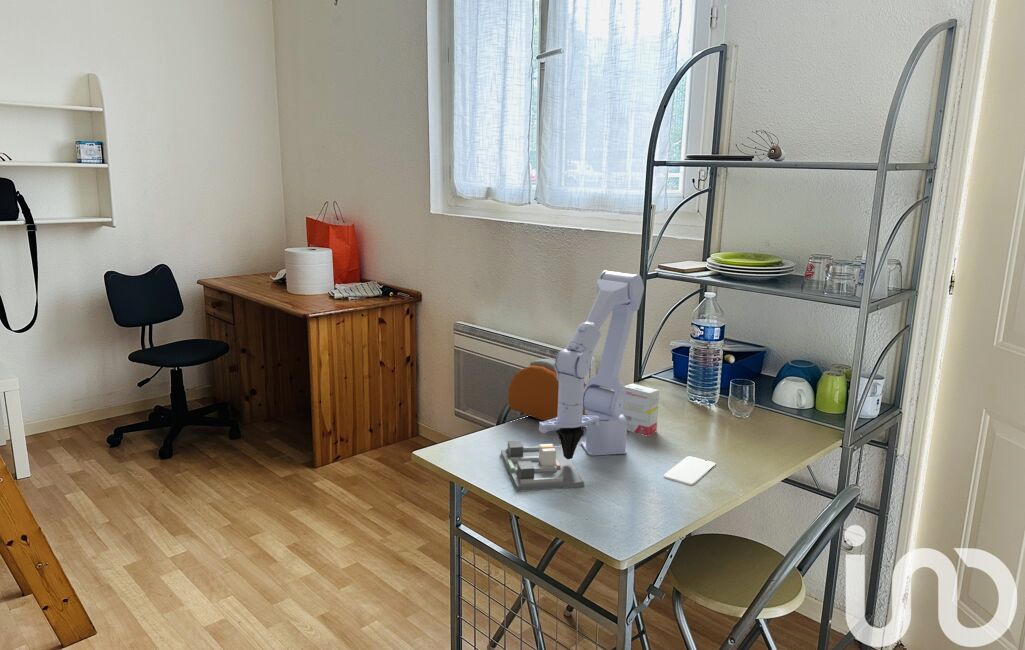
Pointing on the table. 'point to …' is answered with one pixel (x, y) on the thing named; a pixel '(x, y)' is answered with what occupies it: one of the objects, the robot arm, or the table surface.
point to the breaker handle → (547, 455)
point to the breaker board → (538, 469)
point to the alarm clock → (536, 390)
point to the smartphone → (689, 470)
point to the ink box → (641, 409)
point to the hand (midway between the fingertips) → (568, 457)
